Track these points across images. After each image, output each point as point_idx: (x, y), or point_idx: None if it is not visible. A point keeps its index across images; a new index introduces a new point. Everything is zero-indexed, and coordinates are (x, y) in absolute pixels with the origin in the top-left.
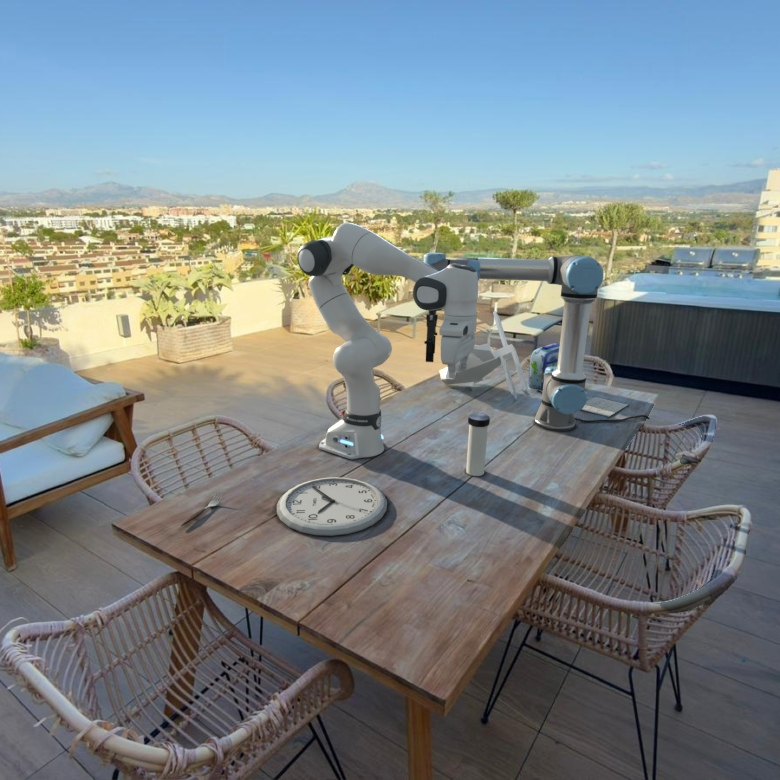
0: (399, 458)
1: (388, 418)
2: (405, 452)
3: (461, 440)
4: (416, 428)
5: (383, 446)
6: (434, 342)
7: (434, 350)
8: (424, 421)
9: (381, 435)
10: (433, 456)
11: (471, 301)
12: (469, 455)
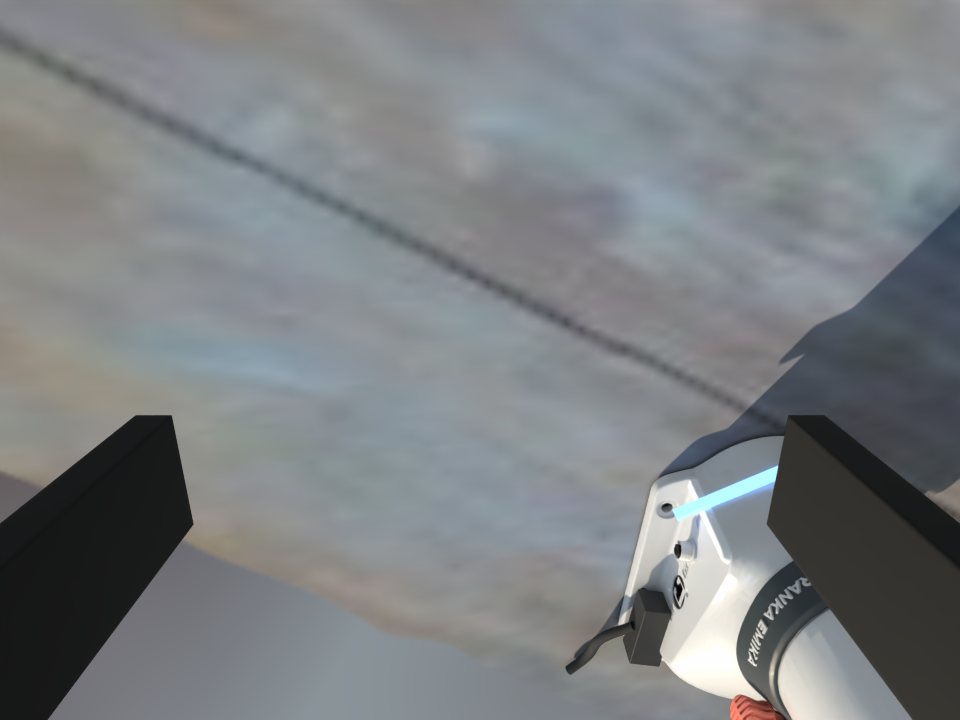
0: (870, 359)
1: (357, 461)
2: (802, 339)
3: (631, 31)
4: (477, 309)
5: (777, 445)
6: (33, 556)
7: (147, 447)
8: (357, 272)
9: (772, 481)
10: (857, 197)
11: None
12: None
